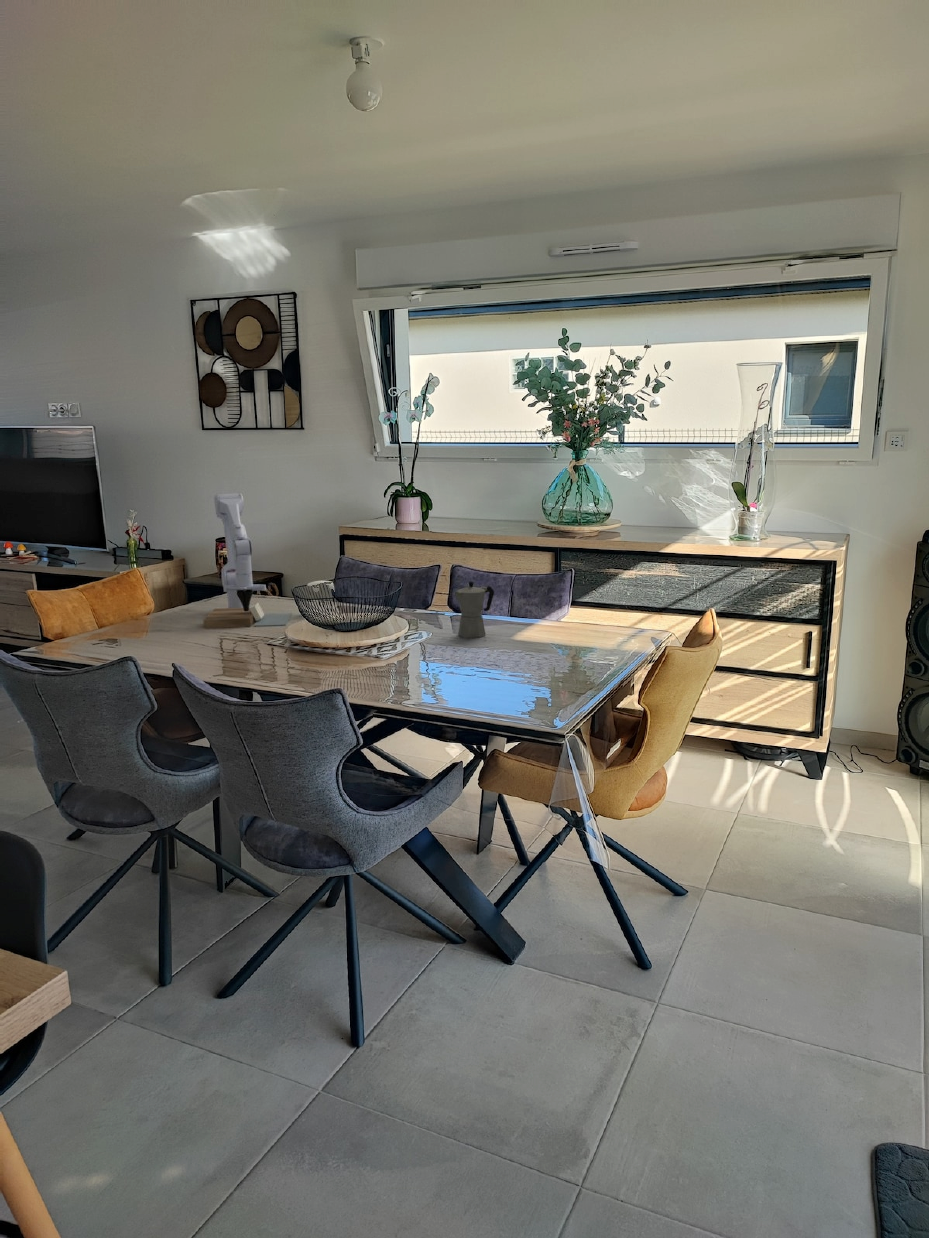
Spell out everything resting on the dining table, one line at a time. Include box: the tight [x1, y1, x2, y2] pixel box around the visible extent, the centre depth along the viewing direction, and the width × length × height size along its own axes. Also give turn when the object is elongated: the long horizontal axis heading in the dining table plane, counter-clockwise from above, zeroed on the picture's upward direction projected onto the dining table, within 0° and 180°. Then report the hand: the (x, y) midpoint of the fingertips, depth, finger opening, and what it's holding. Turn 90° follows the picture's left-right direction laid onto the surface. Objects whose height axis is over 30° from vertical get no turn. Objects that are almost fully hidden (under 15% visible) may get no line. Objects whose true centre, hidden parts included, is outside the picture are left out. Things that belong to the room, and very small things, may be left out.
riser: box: [203, 607, 256, 629], centre depth 314 cm, size 18×16×3 cm
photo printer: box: [306, 580, 335, 592], centre depth 323 cm, size 10×4×12 cm, turn 109°
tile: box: [250, 602, 265, 621], centre depth 314 cm, size 7×5×2 cm
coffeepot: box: [453, 580, 495, 639], centre depth 288 cm, size 15×9×18 cm, turn 121°
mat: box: [253, 612, 293, 627], centre depth 315 cm, size 18×11×1 cm, turn 4°
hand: (246, 610), depth 314 cm, fingers closed
